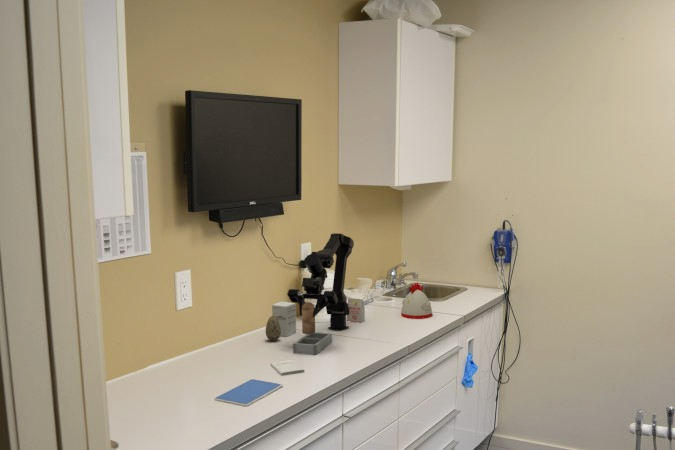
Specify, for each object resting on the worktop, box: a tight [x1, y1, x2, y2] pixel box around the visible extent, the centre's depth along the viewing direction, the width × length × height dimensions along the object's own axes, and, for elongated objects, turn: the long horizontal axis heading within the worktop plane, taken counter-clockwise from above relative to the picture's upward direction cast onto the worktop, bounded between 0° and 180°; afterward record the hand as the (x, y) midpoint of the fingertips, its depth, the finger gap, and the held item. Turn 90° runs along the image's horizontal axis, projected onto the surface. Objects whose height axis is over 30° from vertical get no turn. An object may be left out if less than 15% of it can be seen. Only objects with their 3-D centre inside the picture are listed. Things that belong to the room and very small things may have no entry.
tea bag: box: [346, 297, 366, 324], centre depth 288 cm, size 4×7×10 cm, turn 64°
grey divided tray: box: [292, 331, 333, 356], centre depth 249 cm, size 17×9×4 cm, turn 161°
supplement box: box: [271, 301, 297, 337], centre depth 269 cm, size 7×7×13 cm
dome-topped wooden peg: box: [301, 301, 316, 335], centre depth 244 cm, size 5×5×11 cm
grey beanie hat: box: [400, 282, 433, 320], centre depth 296 cm, size 14×14×15 cm
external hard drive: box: [269, 359, 305, 376], centre depth 224 cm, size 2×8×12 cm
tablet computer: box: [213, 378, 283, 408], centre depth 201 cm, size 19×13×1 cm, turn 151°
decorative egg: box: [265, 315, 281, 342], centre depth 259 cm, size 6×6×10 cm
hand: (307, 315), depth 243 cm, fingers closed on dome-topped wooden peg, 5 cm apart
